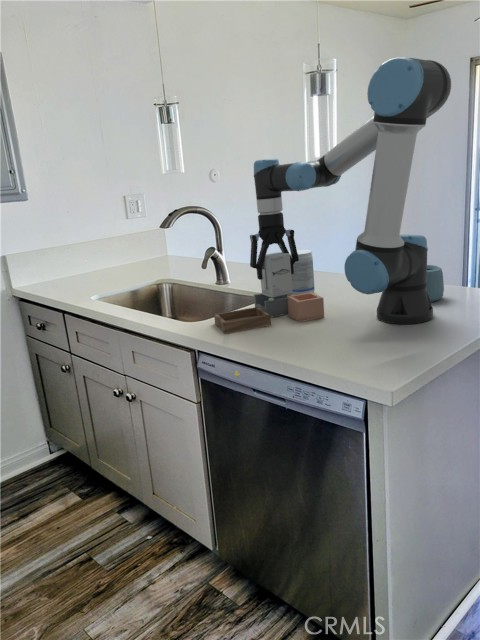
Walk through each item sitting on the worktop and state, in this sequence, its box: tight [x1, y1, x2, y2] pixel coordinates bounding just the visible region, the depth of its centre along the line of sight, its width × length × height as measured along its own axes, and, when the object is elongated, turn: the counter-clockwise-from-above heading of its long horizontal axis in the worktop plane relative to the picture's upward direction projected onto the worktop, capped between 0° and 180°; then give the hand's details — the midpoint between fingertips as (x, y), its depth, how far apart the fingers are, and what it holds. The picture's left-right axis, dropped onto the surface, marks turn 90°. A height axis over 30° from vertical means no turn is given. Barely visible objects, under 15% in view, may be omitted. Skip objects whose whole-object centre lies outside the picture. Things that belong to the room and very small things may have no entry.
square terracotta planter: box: [287, 292, 325, 323], centre depth 155 cm, size 8×8×6 cm
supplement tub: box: [288, 249, 316, 296], centre depth 182 cm, size 10×10×15 cm
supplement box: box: [257, 251, 293, 298], centre depth 162 cm, size 7×7×13 cm
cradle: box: [253, 292, 295, 318], centre depth 164 cm, size 12×11×6 cm
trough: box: [213, 306, 272, 334], centre depth 154 cm, size 11×14×3 cm
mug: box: [427, 264, 445, 303], centre depth 163 cm, size 15×11×10 cm
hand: (276, 287), depth 163 cm, fingers closed on supplement box, 8 cm apart
